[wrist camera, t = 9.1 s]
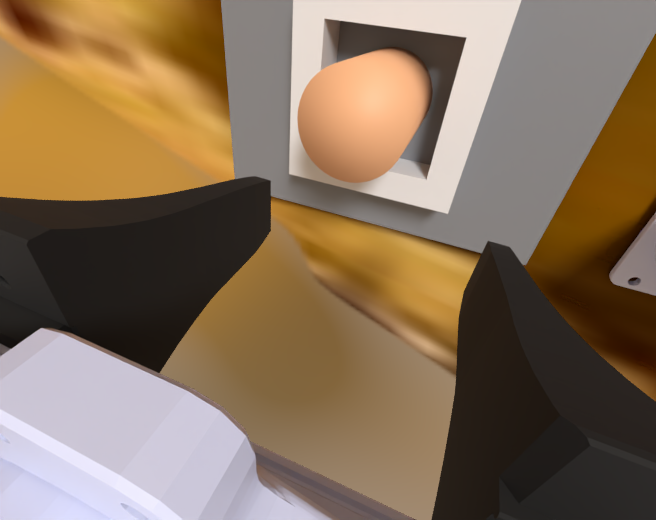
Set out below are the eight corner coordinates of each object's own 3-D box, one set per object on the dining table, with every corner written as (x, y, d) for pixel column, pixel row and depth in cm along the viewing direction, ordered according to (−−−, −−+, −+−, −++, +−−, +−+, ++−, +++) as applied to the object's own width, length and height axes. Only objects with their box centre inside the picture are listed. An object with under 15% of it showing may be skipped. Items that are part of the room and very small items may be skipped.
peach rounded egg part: (443, 53, 15) (422, 71, 10) (420, 145, 17) (394, 193, 13) (354, 41, 16) (299, 52, 11) (344, 130, 18) (295, 169, 14)
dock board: (716, -98, 11) (774, -126, 9) (524, 255, 20) (528, 287, 17) (225, -118, 15) (178, -140, 13) (243, 180, 24) (217, 199, 21)
